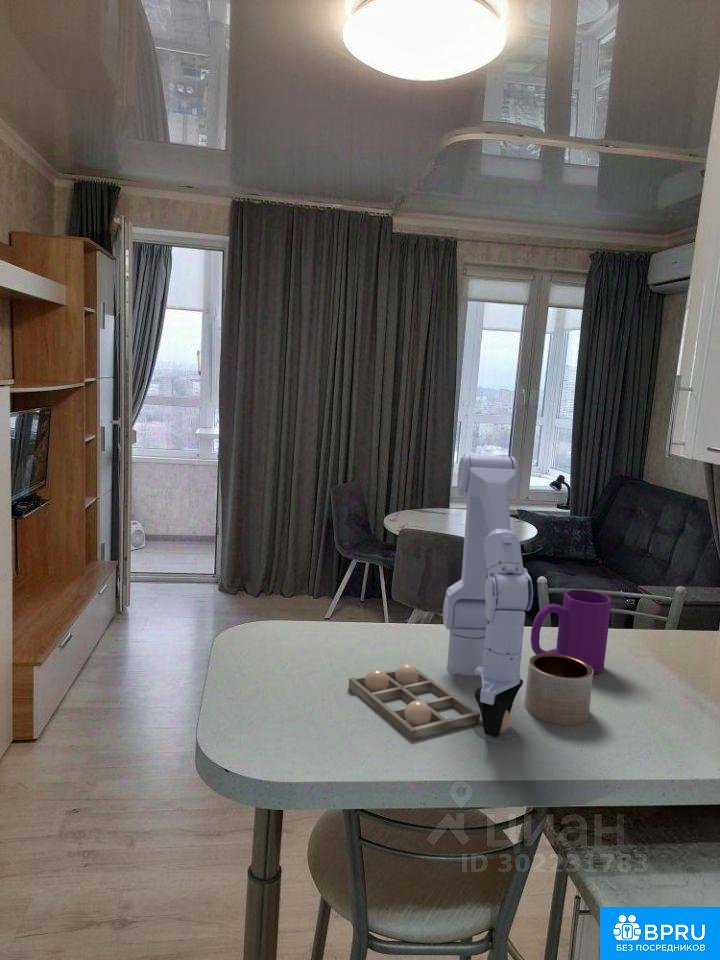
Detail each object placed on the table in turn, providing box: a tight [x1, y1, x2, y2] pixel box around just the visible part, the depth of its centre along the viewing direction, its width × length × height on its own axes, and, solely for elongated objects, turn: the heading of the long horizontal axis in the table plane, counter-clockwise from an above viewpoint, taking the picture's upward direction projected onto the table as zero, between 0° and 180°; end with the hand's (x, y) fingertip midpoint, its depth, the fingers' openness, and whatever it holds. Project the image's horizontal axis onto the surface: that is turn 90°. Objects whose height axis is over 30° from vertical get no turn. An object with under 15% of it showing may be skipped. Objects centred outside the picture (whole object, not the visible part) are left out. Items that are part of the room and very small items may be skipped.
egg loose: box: [500, 709, 512, 733], centre depth 112 cm, size 4×4×4 cm
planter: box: [523, 653, 594, 726], centre depth 120 cm, size 11×11×10 cm
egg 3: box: [404, 700, 431, 727], centre depth 112 cm, size 4×4×4 cm
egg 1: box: [364, 668, 389, 693], centre depth 123 cm, size 4×4×4 cm
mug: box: [530, 589, 612, 675], centre depth 142 cm, size 9×16×15 cm, turn 96°
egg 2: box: [395, 662, 419, 686], centre depth 127 cm, size 4×4×4 cm
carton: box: [348, 668, 481, 741], centre depth 120 cm, size 14×20×3 cm
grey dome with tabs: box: [473, 719, 519, 744], centre depth 112 cm, size 7×7×2 cm
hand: (495, 727), depth 112 cm, fingers closed on egg loose, 4 cm apart
